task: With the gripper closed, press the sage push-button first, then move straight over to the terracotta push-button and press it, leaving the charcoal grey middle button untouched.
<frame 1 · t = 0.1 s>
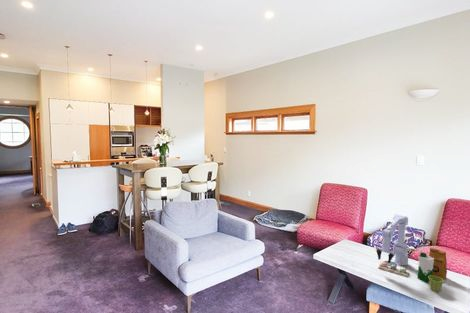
hand: (384, 261, 221), 10 cm above the table, tool pointing down, fingers open, 7 cm apart
milk carton: (424, 279, 214), on the table
plant pot: (435, 290, 199), on the table
button panel: (393, 270, 227), on the table
coffee package: (436, 276, 219), on the table
button grey: (393, 267, 227), point 3 cm above the table, slide at 0.0 cm
button sage: (403, 270, 222), point 3 cm above the table, slide at 0.0 cm
button terracotta: (384, 264, 231), point 3 cm above the table, slide at 0.0 cm
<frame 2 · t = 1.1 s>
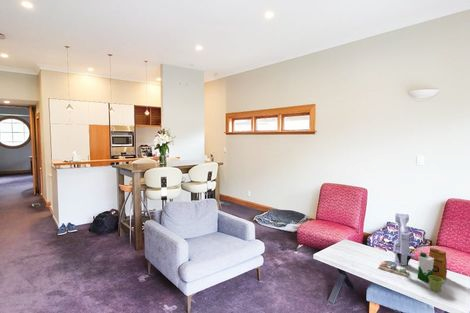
hand: (403, 263, 222), 8 cm above the table, tool pointing down, fingers open, 4 cm apart
nothing on the table moved.
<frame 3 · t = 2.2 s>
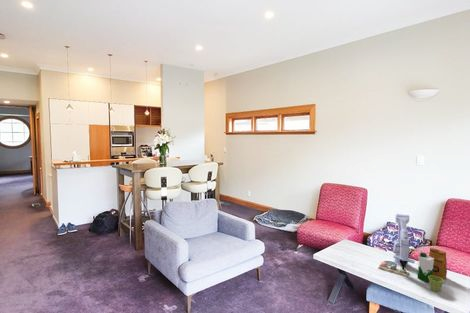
hand: (403, 269, 222), 4 cm above the table, tool pointing down, fingers closed, pressing on button sage
button sage: (403, 270, 222), point 2 cm above the table, slide at 0.6 cm, touching gripper
everything else where it was.
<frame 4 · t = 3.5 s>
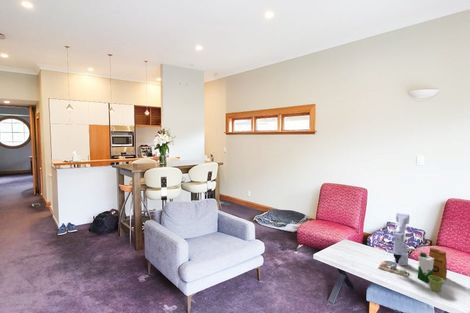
hand: (397, 263, 225), 7 cm above the table, tool pointing down, fingers closed
button sage: (403, 271, 222), point 2 cm above the table, slide at 1.2 cm
everything else where it was.
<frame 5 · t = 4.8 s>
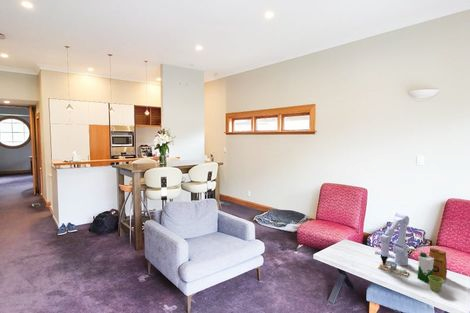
hand: (384, 264, 231), 3 cm above the table, tool pointing down, fingers closed, pressing on button terracotta
button terracotta: (384, 266, 231), point 2 cm above the table, slide at 1.2 cm, touching gripper
everything else where it was.
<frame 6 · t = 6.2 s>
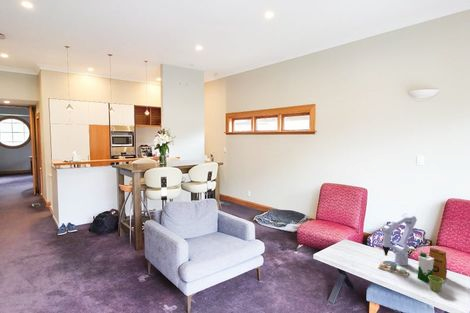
hand: (386, 255, 235), 9 cm above the table, tool pointing down, fingers closed
button terracotta: (384, 266, 231), point 2 cm above the table, slide at 1.2 cm
everything else where it was.
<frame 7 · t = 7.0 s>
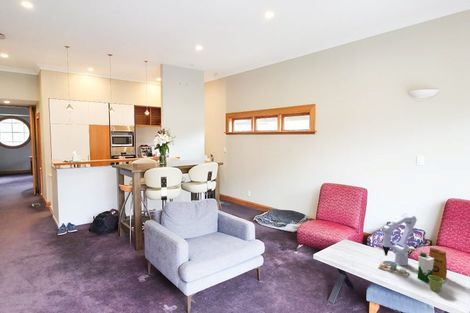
hand: (386, 255, 235), 9 cm above the table, tool pointing down, fingers closed
nothing on the table moved.
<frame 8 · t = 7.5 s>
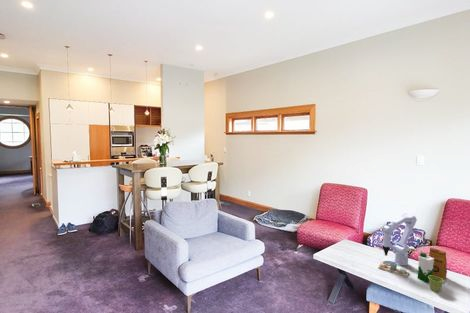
hand: (386, 255, 235), 9 cm above the table, tool pointing down, fingers closed
nothing on the table moved.
at the end: button sage slide at 1.2 cm; button terracotta slide at 1.2 cm; button grey slide at 0.0 cm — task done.
